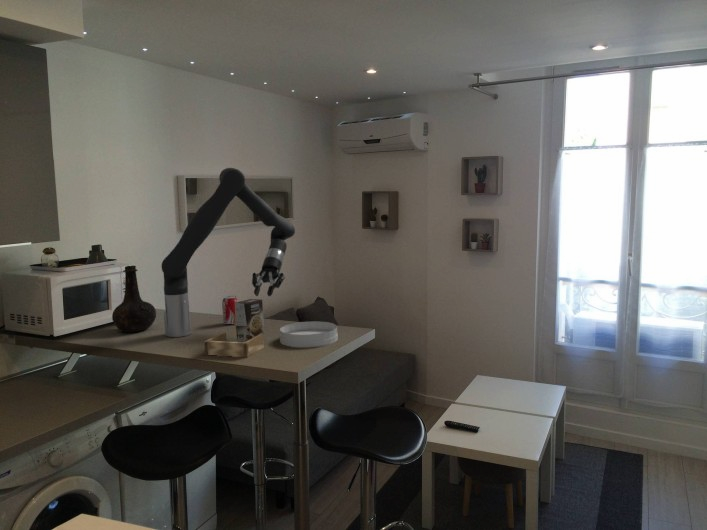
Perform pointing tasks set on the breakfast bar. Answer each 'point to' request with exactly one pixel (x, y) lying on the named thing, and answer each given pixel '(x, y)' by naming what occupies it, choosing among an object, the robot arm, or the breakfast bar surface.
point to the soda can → (229, 309)
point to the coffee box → (249, 319)
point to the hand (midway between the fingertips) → (262, 294)
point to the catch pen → (233, 346)
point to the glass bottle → (133, 306)
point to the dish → (308, 334)
